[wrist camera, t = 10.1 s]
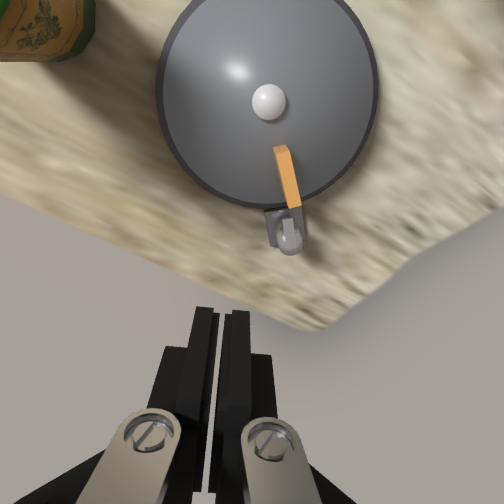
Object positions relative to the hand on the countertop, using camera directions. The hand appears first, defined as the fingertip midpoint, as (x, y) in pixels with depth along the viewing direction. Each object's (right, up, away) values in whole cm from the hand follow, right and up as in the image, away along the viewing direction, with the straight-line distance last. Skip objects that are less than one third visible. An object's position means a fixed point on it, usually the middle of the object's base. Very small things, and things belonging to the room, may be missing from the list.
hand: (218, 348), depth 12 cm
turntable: (+2, +17, +25) cm, 30 cm away
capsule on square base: (+5, +6, +31) cm, 32 cm away
